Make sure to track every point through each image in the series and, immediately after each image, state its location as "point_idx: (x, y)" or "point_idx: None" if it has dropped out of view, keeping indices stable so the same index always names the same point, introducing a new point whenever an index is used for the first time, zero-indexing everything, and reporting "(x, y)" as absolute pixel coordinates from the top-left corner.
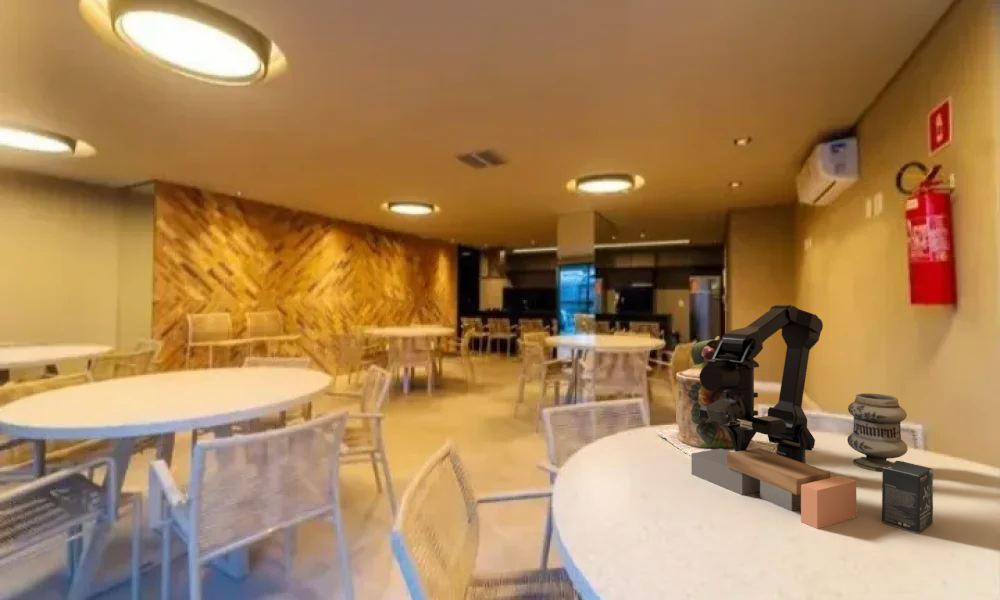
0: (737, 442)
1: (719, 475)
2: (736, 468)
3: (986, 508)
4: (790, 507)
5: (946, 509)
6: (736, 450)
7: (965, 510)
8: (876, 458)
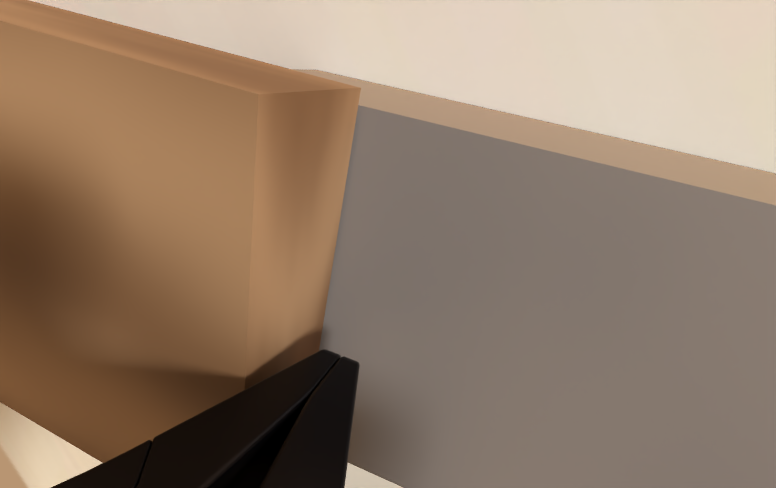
0: (222, 470)
1: (490, 117)
2: (234, 58)
3: (29, 484)
4: None
5: (34, 440)
6: (330, 390)
7: (26, 454)
8: None
